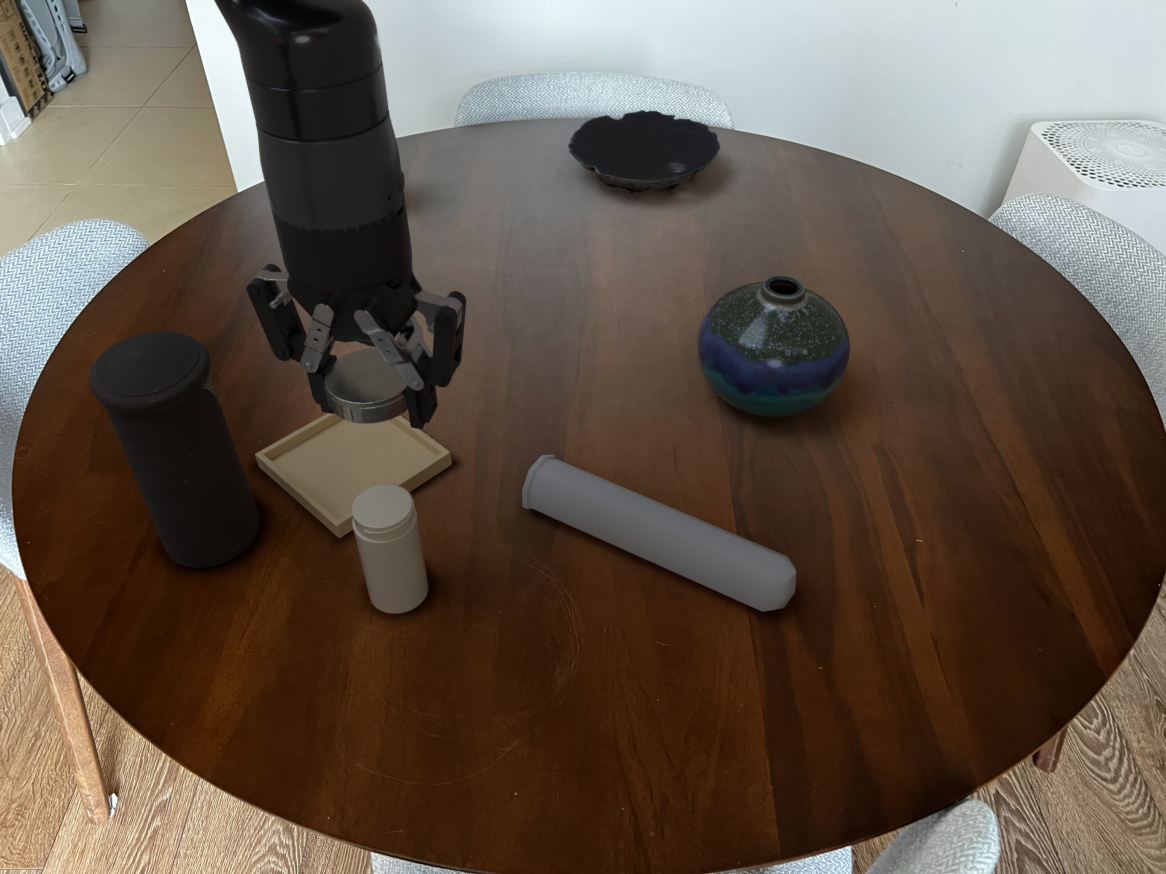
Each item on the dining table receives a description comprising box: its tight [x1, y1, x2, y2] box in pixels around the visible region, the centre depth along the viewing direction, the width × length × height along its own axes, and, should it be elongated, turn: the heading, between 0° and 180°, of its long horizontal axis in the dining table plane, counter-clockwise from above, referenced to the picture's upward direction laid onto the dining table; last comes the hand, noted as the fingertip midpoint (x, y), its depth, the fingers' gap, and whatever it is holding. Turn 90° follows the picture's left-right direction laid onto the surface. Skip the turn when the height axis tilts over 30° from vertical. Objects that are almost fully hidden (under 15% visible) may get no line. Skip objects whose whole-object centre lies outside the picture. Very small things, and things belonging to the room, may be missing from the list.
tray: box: [254, 413, 453, 539], centre depth 88 cm, size 13×13×2 cm
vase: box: [696, 275, 851, 418], centre depth 93 cm, size 15×15×13 cm
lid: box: [324, 347, 408, 424], centre depth 61 cm, size 6×6×2 cm
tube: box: [521, 453, 797, 613], centre depth 79 cm, size 5×5×25 cm
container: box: [88, 330, 261, 569], centre depth 75 cm, size 9×9×20 cm
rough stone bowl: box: [567, 109, 721, 195], centre depth 132 cm, size 22×22×5 cm
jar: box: [352, 484, 429, 615], centre depth 74 cm, size 5×5×10 cm
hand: (377, 412), depth 63 cm, fingers closed on lid, 6 cm apart
